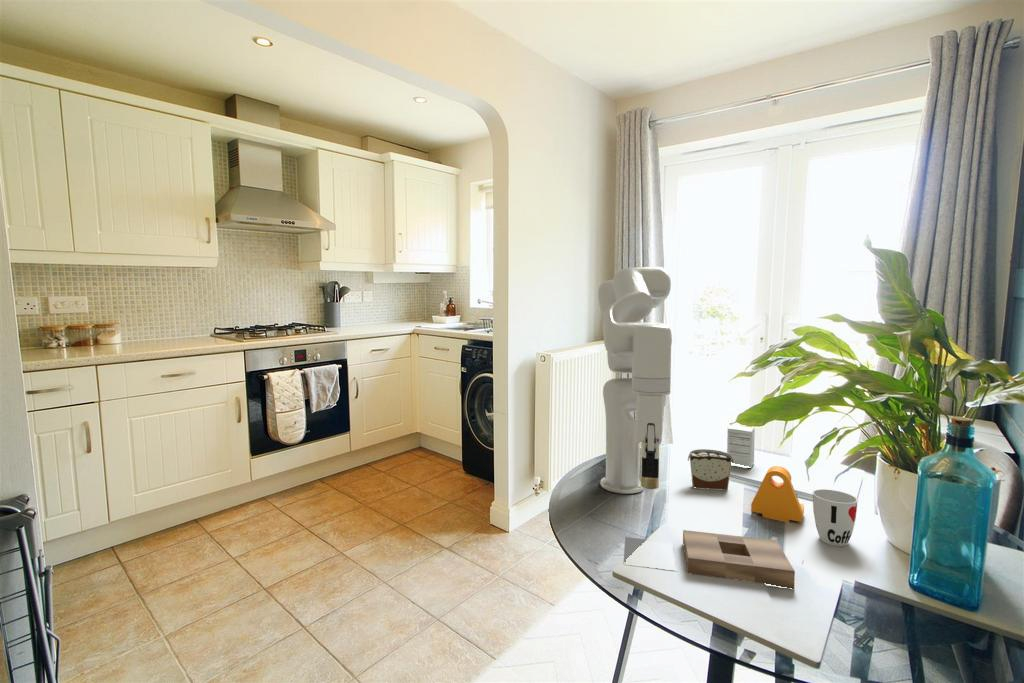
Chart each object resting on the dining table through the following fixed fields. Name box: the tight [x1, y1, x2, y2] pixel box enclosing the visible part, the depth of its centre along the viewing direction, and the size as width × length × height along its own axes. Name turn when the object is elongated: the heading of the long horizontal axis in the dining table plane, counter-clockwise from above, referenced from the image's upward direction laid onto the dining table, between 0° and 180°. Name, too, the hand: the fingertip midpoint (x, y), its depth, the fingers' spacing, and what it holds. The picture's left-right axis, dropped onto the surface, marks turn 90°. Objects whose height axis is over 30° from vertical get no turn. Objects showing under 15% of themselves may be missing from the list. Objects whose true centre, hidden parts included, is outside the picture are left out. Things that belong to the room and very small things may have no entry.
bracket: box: [750, 465, 805, 523], centre depth 116 cm, size 11×7×12 cm, turn 54°
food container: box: [687, 448, 734, 491], centre depth 136 cm, size 12×6×10 cm, turn 80°
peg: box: [640, 436, 660, 490], centre depth 96 cm, size 4×4×11 cm
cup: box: [812, 488, 858, 547], centre depth 103 cm, size 8×8×10 cm
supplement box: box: [726, 424, 756, 468], centre depth 155 cm, size 7×7×13 cm
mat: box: [623, 536, 648, 563], centre depth 97 cm, size 12×10×1 cm
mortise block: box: [682, 529, 796, 590], centre depth 93 cm, size 12×18×4 cm, turn 74°
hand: (649, 472), depth 96 cm, fingers closed on peg, 3 cm apart
